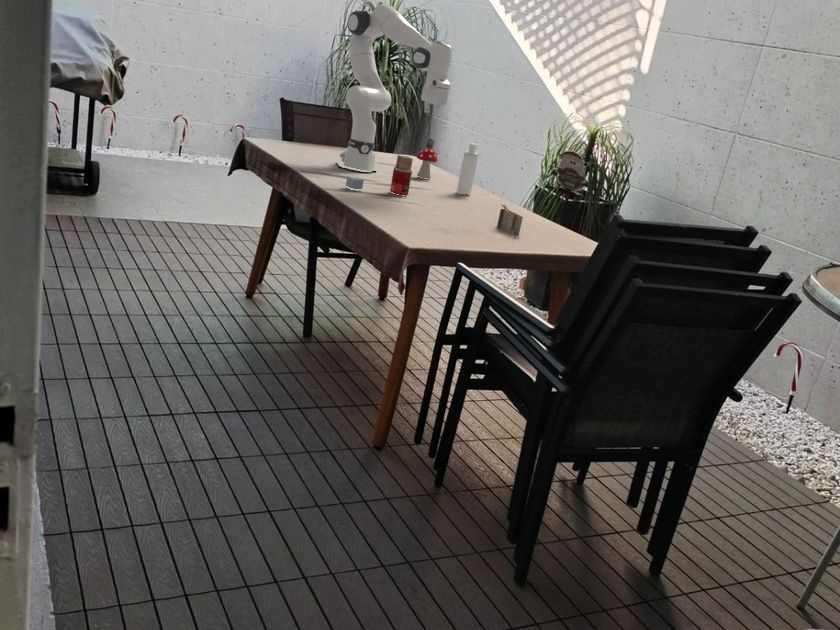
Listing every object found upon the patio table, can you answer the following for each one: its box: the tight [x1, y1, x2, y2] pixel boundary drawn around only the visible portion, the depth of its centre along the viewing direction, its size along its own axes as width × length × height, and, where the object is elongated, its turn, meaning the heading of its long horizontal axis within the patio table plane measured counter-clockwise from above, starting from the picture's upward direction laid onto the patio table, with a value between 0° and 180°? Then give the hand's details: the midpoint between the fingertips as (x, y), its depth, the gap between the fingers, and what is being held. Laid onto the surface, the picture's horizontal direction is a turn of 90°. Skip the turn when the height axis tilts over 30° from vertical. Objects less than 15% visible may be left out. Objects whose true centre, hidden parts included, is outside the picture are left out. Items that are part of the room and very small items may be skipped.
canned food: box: [389, 166, 413, 196], centre depth 346 cm, size 8×8×11 cm
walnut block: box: [395, 154, 414, 171], centre depth 343 cm, size 5×5×5 cm
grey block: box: [345, 176, 365, 190], centre depth 337 cm, size 5×5×5 cm
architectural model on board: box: [496, 203, 524, 236], centre depth 314 cm, size 11×3×10 cm, turn 30°
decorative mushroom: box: [416, 147, 438, 180], centre depth 398 cm, size 10×9×15 cm
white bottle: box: [456, 142, 479, 196], centre depth 374 cm, size 7×7×25 cm
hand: (430, 114), depth 350 cm, fingers open, 8 cm apart
